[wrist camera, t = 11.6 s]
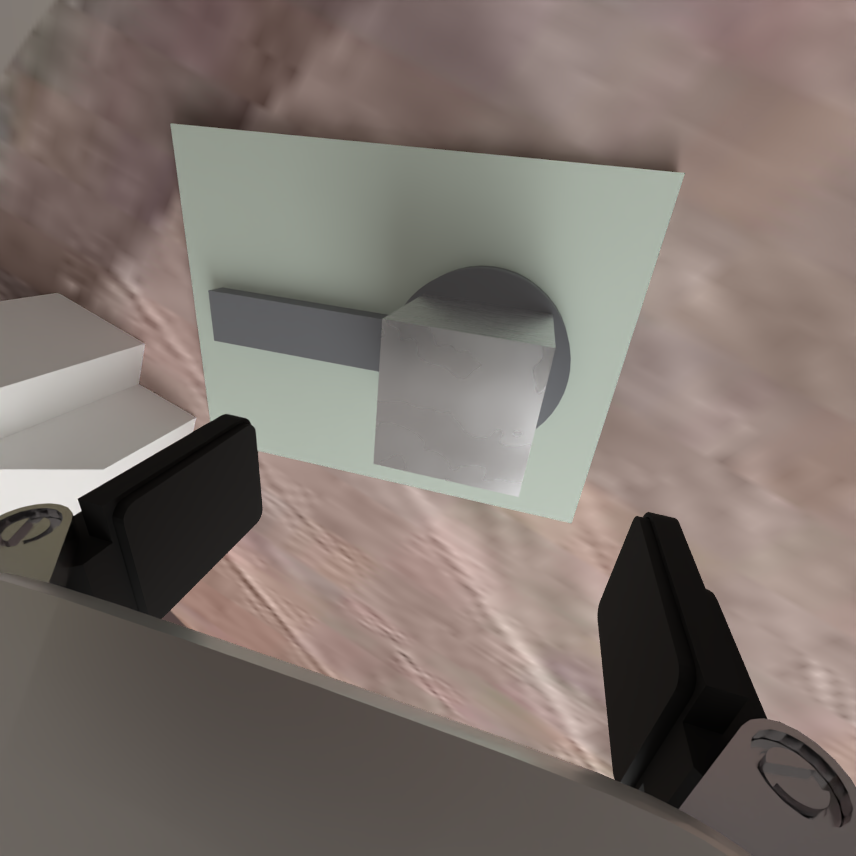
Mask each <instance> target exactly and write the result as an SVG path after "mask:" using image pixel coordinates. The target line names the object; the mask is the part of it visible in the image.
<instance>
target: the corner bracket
mask: <svg viewBox="0 0 856 856" xmlns="http://www.w3.org/2000/svg"><path fill="white" fill-rule="evenodd" d="M144 348H145V343H143V342H142V341H140V340H138V339H136V338H135V337H133V336H131V335H130V334H128V333H126V332H124V331H123V330H121V329H119V328H118V327H116V326H114V325H112V324H111V323H109V322H107V321H106V320H104V319H102V318H100V317H99V316H97V315H95V314H94V313H92V312H90V311H88V310H87V309H85V308H83V307H82V306H80V305H78V304H77V303H75V302H73V301H71V300H70V299H68V298H66V297H65V296H63V295H61V294H59V293H53V294H46V295H39V296H32V297H25V298H19V299H12V300H5V301H0V515H2V514H4V513H6V512H9V511H12V510H15V509H18V508H21V507H25V506H30V505H35V504H46V503H52V504H61V505H63V506H66V507H68V508H69V509H70V510H71V512H72V513H73V516H74V515H76V514H77V513H79V512H81V508H80V505H79V502H78V498H80V497H82V496H83V495H85V494H87V493H88V492H90V491H92V490H94V489H95V488H97V487H99V486H101V485H102V484H104V483H106V482H107V481H109V480H111V479H113V478H114V477H116V476H118V475H120V474H121V473H123V472H125V471H126V470H128V469H130V468H132V467H133V466H135V465H137V464H138V463H140V462H142V461H144V460H145V459H147V458H149V457H151V456H152V455H154V454H156V453H157V452H159V451H161V450H163V449H164V448H166V447H168V446H169V445H171V444H173V443H175V442H176V441H178V440H180V439H182V438H183V437H185V436H187V435H188V434H190V433H192V432H193V429H194V425H195V421H196V417H195V416H193V415H191V414H190V413H188V412H186V411H184V410H183V409H181V408H179V407H178V406H176V405H174V404H172V403H171V402H169V401H167V400H166V399H164V398H162V397H160V396H159V395H157V394H155V393H154V392H152V391H150V390H148V389H147V388H145V387H143V386H142V385H140V384H139V380H140V373H141V367H142V361H143V354H144Z"/></svg>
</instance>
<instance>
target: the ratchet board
mask: <svg viewBox="0 0 856 856" xmlns="http://www.w3.org/2000/svg"><path fill="white" fill-rule="evenodd" d="M170 124H171V123H170ZM171 131H172V139H173V146H174V154H175V161H176V169H177V176H178V184H179V191H180V199H181V206H182V213H183V221H184V228H185V236H186V243H187V251H188V258H189V266H190V273H191V281H192V288H193V296H194V303H195V310H196V318H197V325H198V333H199V340H200V348H201V355H202V363H203V370H204V378H205V385H206V393H207V400H208V407H209V415H210V422H211V421H213V420H214V419H216V418H218V417H219V416H221V415H224V414H230V415H234V416H239V417H243V418H247V419H248V420H249V421H250V422H251V425H252V426H254V428H255V430H256V439H257V450H258V451H261V452H265V453H270V454H274V455H278V456H283V457H287V458H291V459H296V460H300V461H304V462H309V463H313V464H317V465H322V466H326V467H330V468H335V469H339V470H343V471H348V472H352V473H356V474H361V475H365V476H369V477H373V478H378V479H382V480H386V481H391V482H395V483H399V484H404V485H408V486H412V487H417V488H421V489H425V490H430V491H434V492H438V493H443V494H447V495H451V496H456V497H460V498H464V499H469V500H473V501H477V502H482V503H486V504H490V505H494V506H499V507H503V508H507V509H512V510H516V511H520V512H525V513H529V514H533V515H538V516H542V517H546V518H551V519H555V520H559V521H564V522H568V523H572V520H573V517H574V514H575V511H576V508H577V505H578V502H579V498H580V495H581V492H582V489H583V486H584V483H585V480H586V477H587V474H588V471H589V468H590V464H591V461H592V458H593V455H594V452H595V449H596V446H597V443H598V440H599V437H600V434H601V431H602V427H603V424H604V421H605V418H606V415H607V412H608V409H609V406H610V403H611V400H612V397H613V393H614V390H615V387H616V384H617V381H618V378H619V375H620V372H621V369H622V366H623V363H624V360H625V356H626V353H627V350H628V347H629V344H630V341H631V338H632V335H633V332H634V329H635V326H636V322H637V319H638V316H639V313H640V310H641V307H642V304H643V301H644V298H645V295H646V292H647V289H648V285H649V282H650V279H651V276H652V273H653V270H654V267H655V264H656V261H657V258H658V255H659V252H660V248H661V245H662V242H663V239H664V236H665V233H666V230H667V227H668V224H669V221H670V218H671V214H672V211H673V208H674V205H675V202H676V199H677V196H678V193H679V190H680V187H681V184H682V181H683V177H684V174H685V173H680V172H669V171H659V170H649V169H638V168H628V167H617V166H607V165H597V164H586V163H576V162H566V161H555V160H545V159H534V158H524V157H514V156H503V155H493V154H483V153H472V152H462V151H451V150H441V149H431V148H420V147H410V146H400V145H389V144H379V143H368V142H358V141H348V140H337V139H327V138H317V137H306V136H296V135H285V134H275V133H265V132H254V131H244V130H234V129H223V128H213V127H202V126H192V125H182V124H171ZM423 294H429V295H435V296H442V297H448V298H454V299H461V300H467V301H473V302H480V303H486V304H493V305H499V306H505V307H512V308H518V309H524V310H531V311H537V312H543V313H550V314H553V322H554V334H555V346H556V349H555V353H554V357H553V361H552V365H551V369H550V373H549V377H548V381H547V385H546V389H545V393H544V397H543V401H542V405H541V409H540V413H539V417H538V421H537V425H536V429H535V433H534V437H533V441H532V445H531V449H530V453H529V457H528V461H527V465H526V469H525V473H524V477H523V481H522V485H521V489H520V493H519V497H516V496H512V495H507V494H503V493H499V492H494V491H490V490H485V489H481V488H477V487H472V486H468V485H464V484H459V483H455V482H450V481H446V480H442V479H437V478H433V477H429V476H424V475H420V474H415V473H411V472H407V471H402V470H398V469H394V468H389V467H385V466H380V465H376V464H373V461H374V445H375V429H376V413H377V396H378V380H379V364H380V348H381V331H382V319H383V318H384V317H386V316H388V315H389V314H391V313H393V312H394V311H396V310H398V309H399V308H401V307H403V306H404V305H406V304H408V303H409V302H411V301H413V300H414V299H416V298H418V297H419V296H421V295H423Z"/></svg>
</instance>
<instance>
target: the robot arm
mask: <svg viewBox="0 0 856 856" xmlns="http://www.w3.org/2000/svg"><path fill="white" fill-rule="evenodd" d="M78 502H79V505H80V508H81V512H79V513H77V514H76V515H74V516H73V513H72V512H71V510H70V509H69V508H68V507H66V506H63V505H61V504H52V503H46V504H35V505H30V506H25V507H21V508H18V509H15V510H12V511H9V512H6V513H4V514H2V515H0V856H856V787H855V785H854V783H853V782H852V780H851V778H850V777H849V776H848V775H847V774H846V772H845V771H844V770H843V769H842V768H841V766H840V765H839V764H838V763H837V762H836V761H835V759H833V758H832V757H831V756H830V755H829V754H828V753H827V752H826V751H825V750H824V749H822V748H821V747H820V746H819V745H818V744H817V743H815V742H814V741H813V740H811V739H810V738H808V737H807V736H805V735H804V734H802V733H801V732H799V731H798V730H796V729H794V728H791V727H789V726H787V725H785V724H783V723H781V722H778V721H773V720H769V719H767V717H766V715H765V712H764V710H763V708H762V705H761V703H760V701H759V698H758V696H757V693H756V691H755V689H754V686H753V684H752V682H751V679H750V677H749V674H748V672H747V670H746V667H745V665H744V662H743V660H742V658H741V655H740V653H739V651H738V648H737V646H736V643H735V641H734V639H733V636H732V634H731V632H730V629H729V627H728V624H727V622H726V620H725V617H724V615H723V613H722V610H721V608H720V605H719V603H718V601H717V599H716V597H715V595H714V594H713V593H712V592H711V591H709V590H707V589H705V586H704V584H703V581H702V579H701V576H700V574H699V571H698V569H697V566H696V564H695V561H694V559H693V556H692V554H691V551H690V549H689V546H688V544H687V541H686V539H685V536H684V534H683V531H682V529H681V526H680V524H679V522H678V520H677V519H675V518H672V517H668V516H663V515H659V514H655V513H650V512H647V513H646V514H645V515H644V516H643V517H639V516H636V517H635V518H634V520H633V522H632V524H631V527H630V529H629V531H628V534H627V536H626V539H625V541H624V544H623V546H622V549H621V551H620V554H619V556H618V559H617V561H616V564H615V566H614V568H613V571H612V573H611V576H610V578H609V581H608V583H607V586H606V588H605V591H604V593H603V596H602V598H601V600H600V603H599V608H598V627H599V637H600V647H601V657H602V667H603V677H604V687H605V697H606V707H607V717H608V727H609V737H610V747H611V757H612V767H613V774H614V779H615V780H614V779H611V778H609V777H606V776H604V775H602V774H599V773H597V772H594V771H592V770H589V769H586V768H583V767H581V766H578V765H575V764H573V763H570V762H567V761H565V760H562V759H559V758H557V757H554V756H551V755H548V754H546V753H543V752H540V751H538V750H535V749H532V748H530V747H527V746H524V745H521V744H519V743H516V742H513V741H511V740H508V739H505V738H503V737H500V736H497V735H494V734H491V733H488V732H486V731H483V730H480V729H477V728H474V727H471V726H468V725H466V724H463V723H460V722H457V721H454V720H451V719H449V718H446V717H443V716H440V715H437V714H434V713H432V712H429V711H426V710H423V709H420V708H417V707H414V706H412V705H409V704H406V703H403V702H400V701H397V700H395V699H392V698H389V697H386V696H383V695H380V694H377V693H375V692H372V691H369V690H366V689H363V688H360V687H357V686H355V685H352V684H349V683H346V682H343V681H340V680H337V679H334V678H331V677H329V676H326V675H323V674H320V673H317V672H314V671H311V670H308V669H305V668H303V667H300V666H297V665H294V664H291V663H288V662H285V661H282V660H279V659H276V658H274V657H271V656H268V655H265V654H262V653H259V652H256V651H253V650H250V649H247V648H244V647H242V646H239V645H236V644H233V643H230V642H227V641H224V640H221V639H218V638H215V637H212V636H209V635H206V634H203V633H201V632H198V631H195V630H192V629H189V628H186V627H183V626H180V625H177V624H174V623H171V622H167V621H165V620H162V618H163V617H164V616H165V615H166V614H167V613H168V612H169V611H170V610H171V609H172V608H173V607H174V606H175V605H176V604H177V603H178V602H179V601H180V600H181V599H182V598H183V597H184V596H185V595H186V594H187V593H188V592H189V591H190V590H191V589H192V588H193V587H194V586H195V585H196V584H197V583H198V582H199V581H200V580H201V579H202V578H203V577H204V576H205V575H206V574H207V573H208V572H209V571H210V570H211V569H212V568H213V567H214V566H215V565H216V564H217V563H218V562H219V561H220V560H221V559H222V558H223V557H224V556H225V555H226V554H227V553H228V552H229V551H230V550H231V549H232V548H233V547H234V546H235V545H236V544H237V543H238V542H239V541H240V540H241V539H242V538H243V537H244V536H245V535H246V534H247V533H248V531H249V530H250V529H251V528H252V527H253V526H254V525H255V524H256V523H257V522H258V521H259V519H260V517H261V515H262V497H261V485H260V474H259V462H258V450H257V439H256V430H255V428H254V426H252V425H251V422H250V421H249V420H248V419H247V418H243V417H239V416H234V415H230V414H224V415H221V416H219V417H218V418H216V419H214V420H213V421H211V422H209V423H207V424H206V425H204V426H202V427H201V428H199V429H197V430H195V431H194V432H192V433H190V434H188V435H187V436H185V437H183V438H182V439H180V440H178V441H176V442H175V443H173V444H171V445H169V446H168V447H166V448H164V449H163V450H161V451H159V452H157V453H156V454H154V455H152V456H151V457H149V458H147V459H145V460H144V461H142V462H140V463H138V464H137V465H135V466H133V467H132V468H130V469H128V470H126V471H125V472H123V473H121V474H120V475H118V476H116V477H114V478H113V479H111V480H109V481H107V482H106V483H104V484H102V485H101V486H99V487H97V488H95V489H94V490H92V491H90V492H88V493H87V494H85V495H83V496H82V497H80V498H78Z"/></svg>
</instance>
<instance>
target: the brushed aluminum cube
mask: <svg viewBox="0 0 856 856" xmlns="http://www.w3.org/2000/svg"><path fill="white" fill-rule="evenodd" d="M555 349H556V346H555V334H554V322H553V314H550V313H543V312H537V311H531V310H524V309H518V308H512V307H505V306H499V305H493V304H486V303H480V302H473V301H467V300H461V299H454V298H448V297H442V296H435V295H429V294H423V295H421V296H419V297H418V298H416V299H414V300H413V301H411V302H409V303H408V304H406V305H404V306H403V307H401V308H399V309H398V310H396V311H394V312H393V313H391V314H389V315H388V316H386V317H384V318H383V319H382V331H381V348H380V364H379V380H378V396H377V413H376V429H375V445H374V461H373V464H376V465H380V466H385V467H389V468H394V469H398V470H402V471H407V472H411V473H415V474H420V475H424V476H429V477H433V478H437V479H442V480H446V481H450V482H455V483H459V484H464V485H468V486H472V487H477V488H481V489H485V490H490V491H494V492H499V493H503V494H507V495H512V496H516V497H519V493H520V489H521V485H522V481H523V477H524V473H525V469H526V465H527V461H528V457H529V453H530V449H531V445H532V441H533V437H534V433H535V429H536V425H537V421H538V417H539V413H540V409H541V405H542V401H543V397H544V393H545V389H546V385H547V381H548V377H549V373H550V369H551V365H552V361H553V357H554V353H555Z"/></svg>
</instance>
